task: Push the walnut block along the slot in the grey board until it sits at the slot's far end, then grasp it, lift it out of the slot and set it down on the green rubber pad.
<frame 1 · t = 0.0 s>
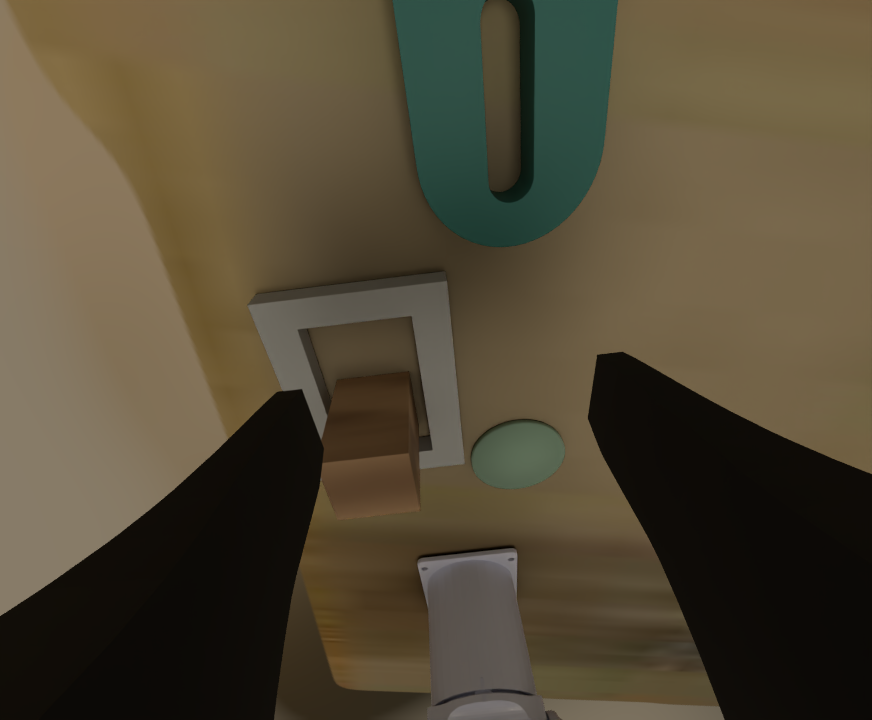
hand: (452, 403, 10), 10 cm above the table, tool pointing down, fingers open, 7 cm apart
green pad: (516, 454, 26), on the table
walnut block: (379, 403, 23), resting in slot board
slot board: (374, 383, 22), on the table
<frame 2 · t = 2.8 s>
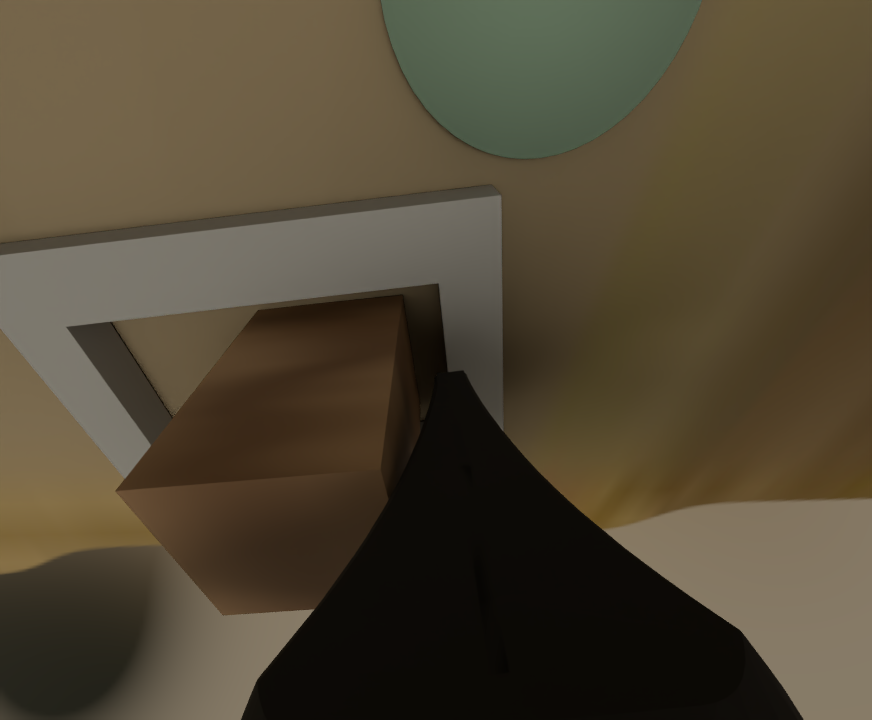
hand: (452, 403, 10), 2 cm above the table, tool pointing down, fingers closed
walnut block: (346, 362, 12), resting in slot board, touching gripper
slot board: (297, 368, 12), on the table
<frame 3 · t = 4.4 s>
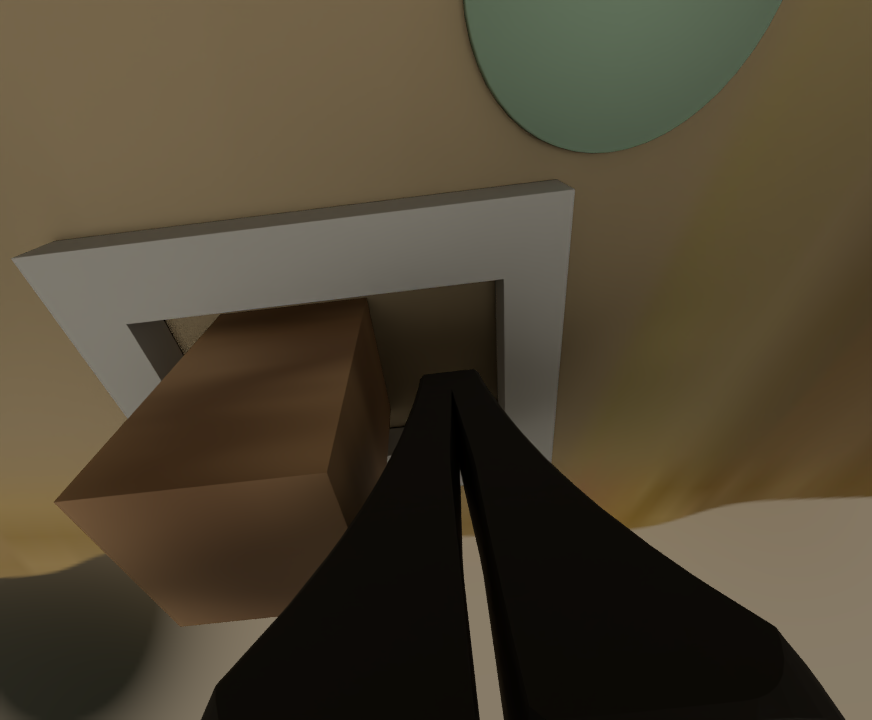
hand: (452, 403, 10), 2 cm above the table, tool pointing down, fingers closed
walnut block: (313, 366, 12), resting in slot board
slot board: (347, 366, 12), on the table
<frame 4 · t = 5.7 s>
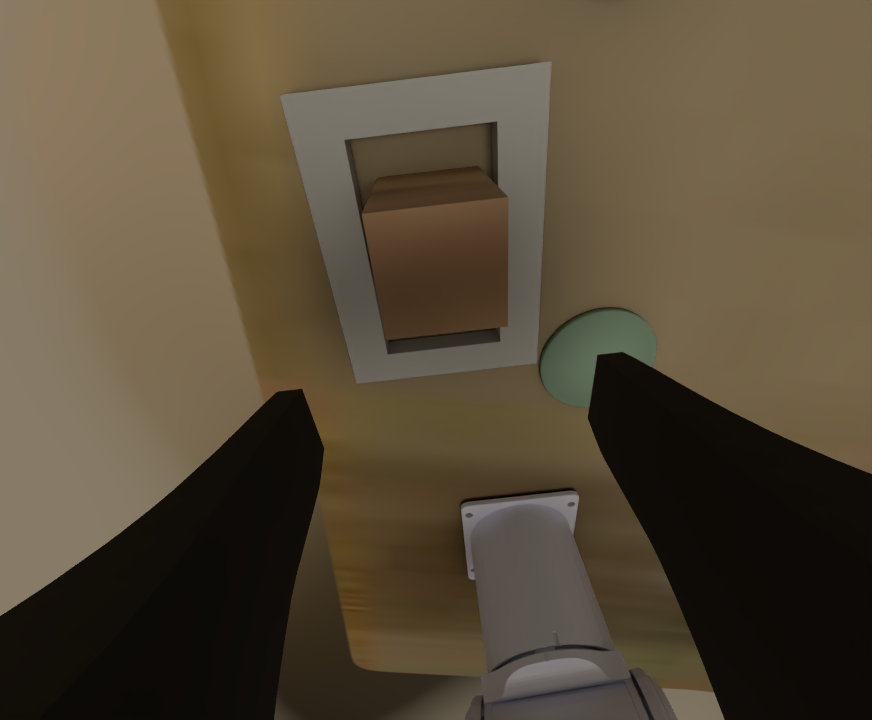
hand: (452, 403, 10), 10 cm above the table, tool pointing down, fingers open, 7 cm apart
green pad: (595, 358, 21), on the table
walnut block: (432, 223, 17), resting in slot board
slot board: (432, 247, 17), on the table
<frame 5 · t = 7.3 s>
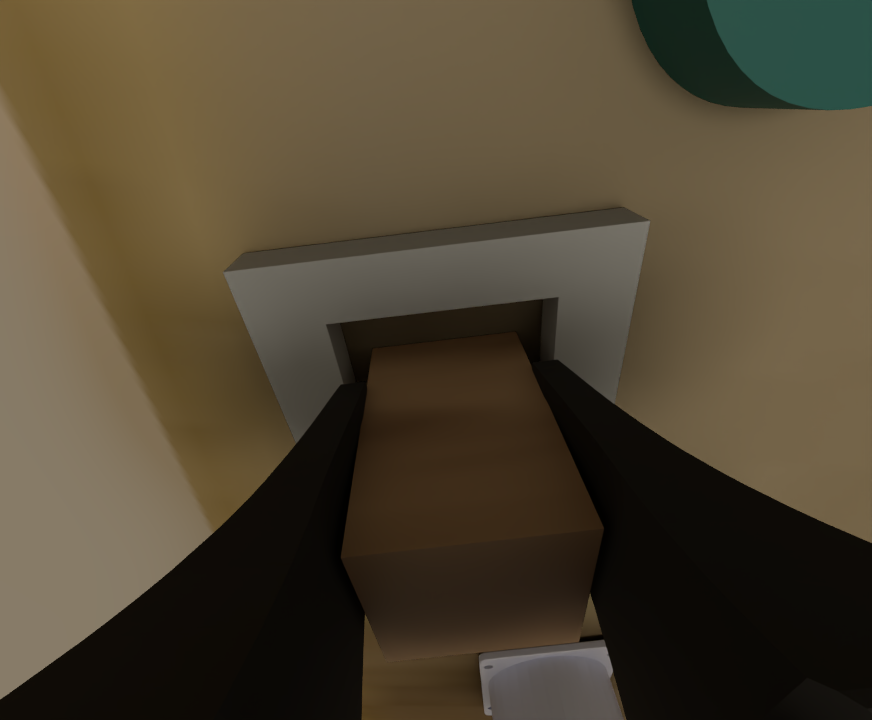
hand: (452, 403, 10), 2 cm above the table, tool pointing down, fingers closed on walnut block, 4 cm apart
walnut block: (450, 395, 12), resting in slot board, touching gripper
slot board: (452, 419, 13), on the table
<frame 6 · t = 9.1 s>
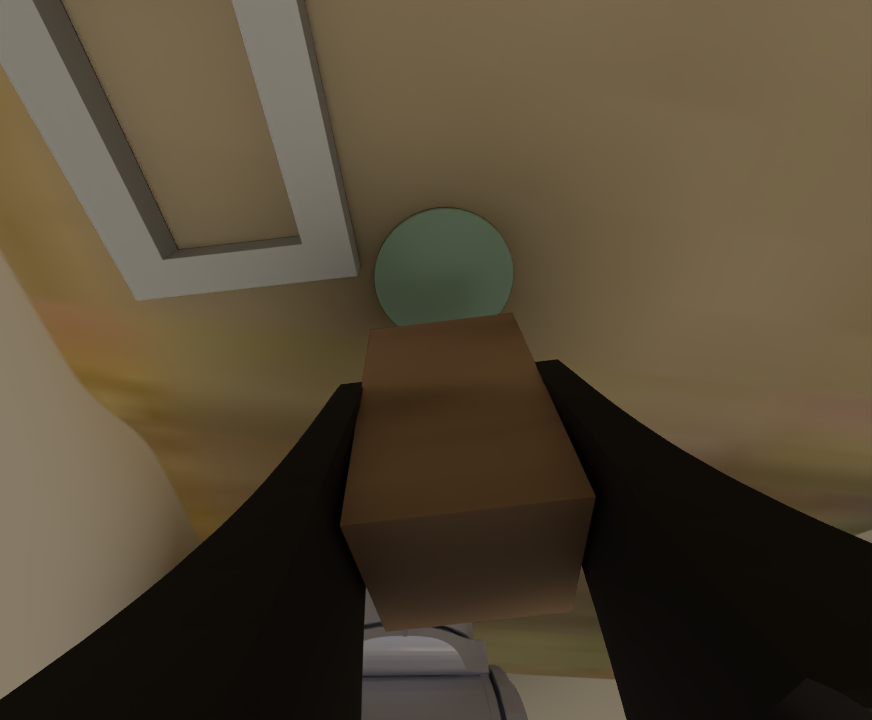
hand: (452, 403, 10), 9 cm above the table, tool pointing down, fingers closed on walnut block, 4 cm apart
green pad: (443, 278, 17), on the table
walnut block: (447, 377, 12), point 7 cm above the table, touching gripper
slot board: (195, 112, 14), on the table
when the fingers open (3 cm above the table, at t = 10.7 s): walnut block stays where it is, resting on green pad.
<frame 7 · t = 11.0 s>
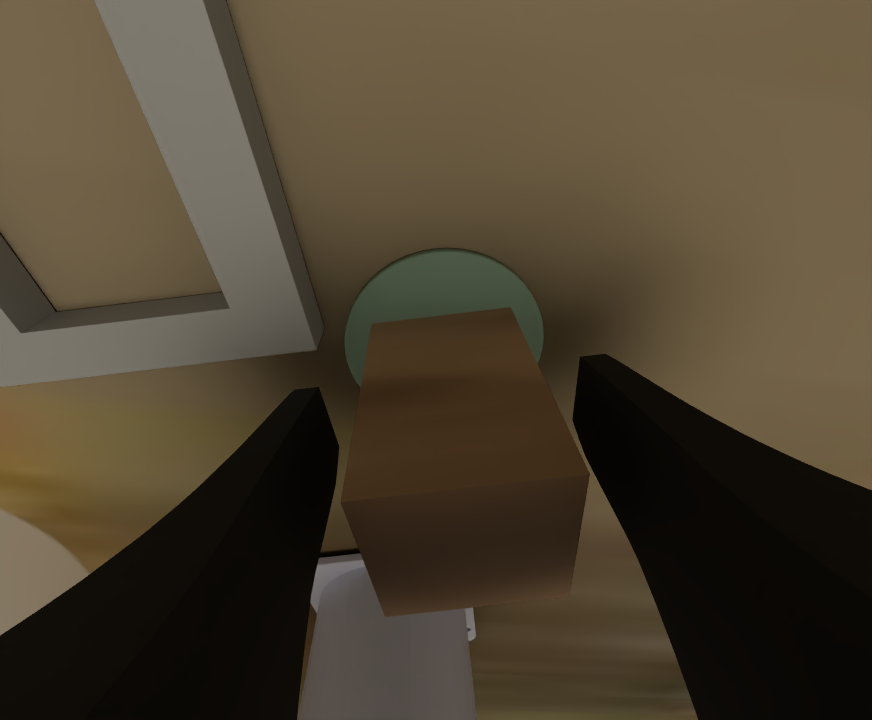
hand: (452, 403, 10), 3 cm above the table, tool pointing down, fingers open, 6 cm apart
green pad: (444, 343, 12), on the table
walnut block: (447, 371, 12), resting on green pad
slot board: (45, 110, 8), on the table
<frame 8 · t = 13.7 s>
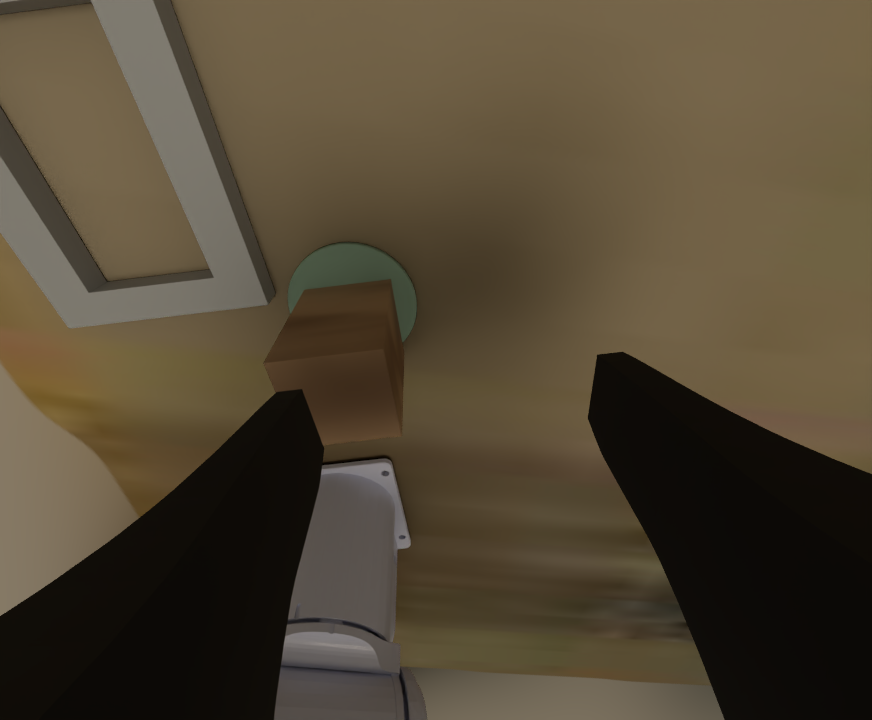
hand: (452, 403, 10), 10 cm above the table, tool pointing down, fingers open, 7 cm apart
green pad: (354, 304, 19), on the table
walnut block: (357, 322, 19), resting on green pad
slot board: (109, 164, 15), on the table
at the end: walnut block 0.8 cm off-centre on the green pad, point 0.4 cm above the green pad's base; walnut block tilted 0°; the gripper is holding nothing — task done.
